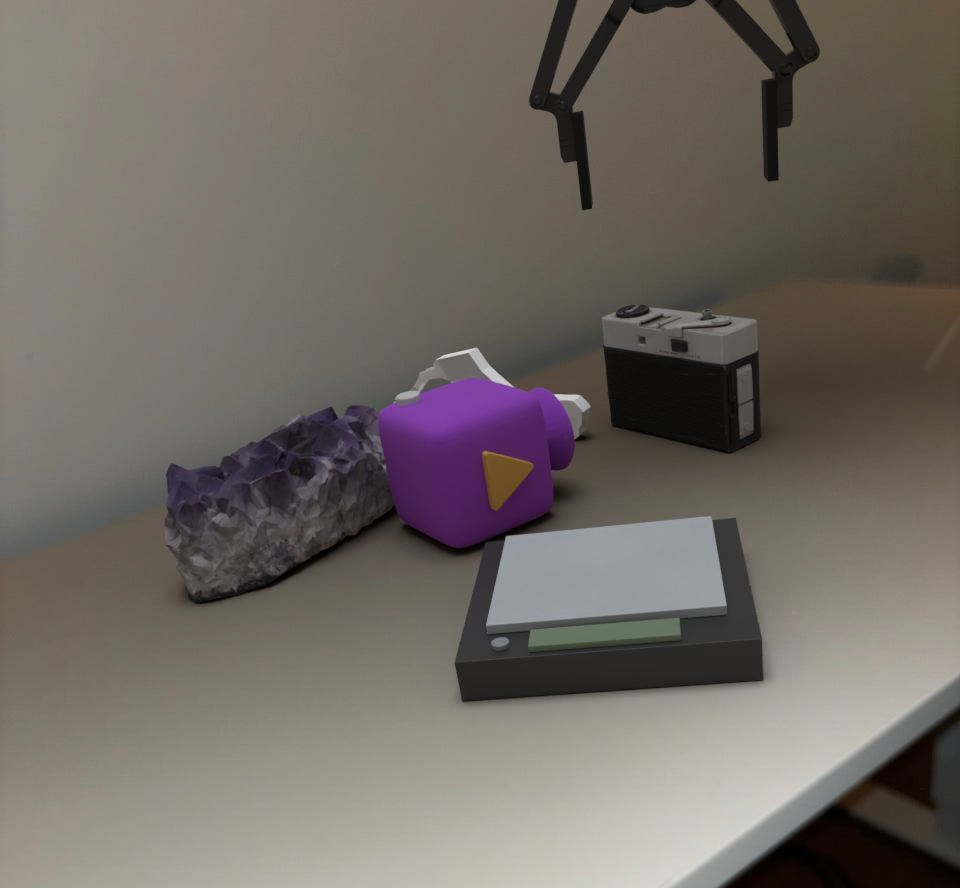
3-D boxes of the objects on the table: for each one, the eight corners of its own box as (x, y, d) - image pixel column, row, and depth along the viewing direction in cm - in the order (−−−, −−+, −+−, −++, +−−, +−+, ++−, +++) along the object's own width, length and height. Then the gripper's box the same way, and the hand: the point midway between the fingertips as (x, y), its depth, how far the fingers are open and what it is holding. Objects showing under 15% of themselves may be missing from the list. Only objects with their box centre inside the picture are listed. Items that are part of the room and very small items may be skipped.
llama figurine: (443, 495, 101) (592, 432, 89) (384, 387, 98) (530, 308, 86) (453, 487, 102) (601, 425, 90) (395, 381, 100) (540, 302, 88)
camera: (801, 424, 85) (794, 298, 80) (712, 463, 82) (700, 335, 77) (689, 394, 96) (677, 282, 91) (607, 427, 93) (591, 313, 88)
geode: (263, 619, 71) (202, 481, 66) (160, 613, 78) (99, 488, 74) (439, 488, 84) (398, 366, 80) (337, 493, 91) (294, 381, 87)
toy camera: (606, 491, 80) (592, 360, 75) (478, 564, 72) (453, 424, 68) (505, 469, 87) (487, 349, 82) (379, 534, 80) (350, 406, 75)
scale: (737, 553, 68) (735, 508, 66) (763, 680, 55) (761, 628, 54) (491, 575, 71) (484, 533, 69) (462, 701, 58) (452, 652, 56)
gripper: (844, -187, 70) (842, 159, 81) (474, -108, 75) (518, 210, 85) (866, -206, 64) (861, 172, 74) (461, -119, 68) (509, 226, 79)
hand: (677, 193), depth 80 cm, fingers open, 13 cm apart
